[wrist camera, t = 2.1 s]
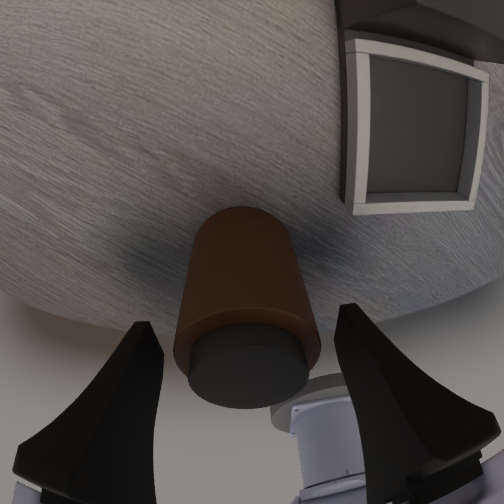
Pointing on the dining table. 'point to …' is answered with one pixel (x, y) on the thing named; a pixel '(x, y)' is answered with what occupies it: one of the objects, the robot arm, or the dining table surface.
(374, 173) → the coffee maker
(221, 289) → the brown cylinder grey top
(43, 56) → the dining table surface
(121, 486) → the robot arm
